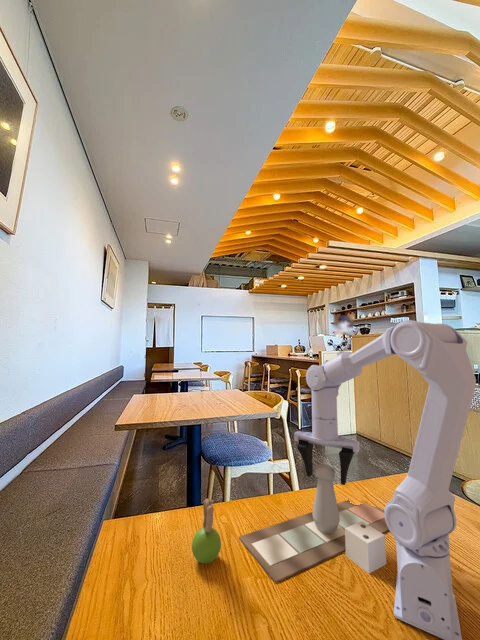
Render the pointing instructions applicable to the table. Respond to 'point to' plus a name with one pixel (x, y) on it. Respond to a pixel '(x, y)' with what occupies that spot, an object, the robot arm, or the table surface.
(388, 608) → the table surface
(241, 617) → the table surface
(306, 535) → the game board
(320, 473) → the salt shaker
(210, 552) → the green ball handle toy
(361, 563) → the die
